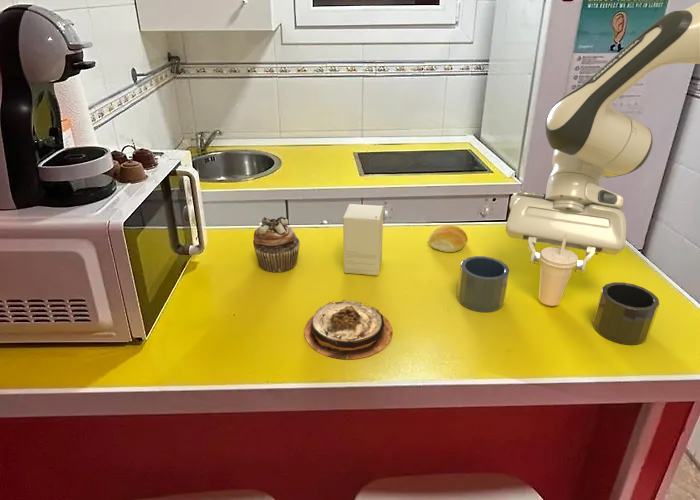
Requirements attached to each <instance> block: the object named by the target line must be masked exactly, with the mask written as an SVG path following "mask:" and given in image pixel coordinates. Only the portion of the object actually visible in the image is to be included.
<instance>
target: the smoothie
mask: <svg viewBox="0 0 700 500" xmlns="http://www.w3.org/2000/svg"><path fill="white" fill-rule="evenodd" d="M567 235H568V234H564V237H563V242H562V246H549V247H544V248H543V249H542V250H540V259H539V260H540V270H539V271H540V273H539V274H540V275H539V288H538V289H539V293H538V300H539V302H540V303H541V304H544V305H546V306H550V307H554V306H555V307H556V306H558V305H560V303H561V300H562V298H563V295H564V292H565V290H566V288H567V286H568V284H569V283H568V282H569V281H570V278H571V275H572V273H573V271H574V269H575V267H576V265H577V261H578V260H579V257H578V254H577V253H576V252H574V251H572V250H570V249H568V248H566V247H565V244H566V240H567Z"/></svg>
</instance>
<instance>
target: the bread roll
mask: <svg viewBox="0 0 700 500" xmlns="http://www.w3.org/2000/svg"><path fill="white" fill-rule="evenodd" d="M468 241H469V238H468V235H467V233H466V232H465V230H463V229H462V228H460V227H459V226H456V225H452V224H448V225H443V226H440V227H437V228H435V229H434V230H433V231H432V232H431V234H430V235H429V236H428V245H429V246H430V247H431V248H433V249H435V250H437V251H441V252H444V253H454V252H455V253H456V252H459V251H461V250H462V249H463V248H464V247H465V246H466V244H467V243H468Z"/></svg>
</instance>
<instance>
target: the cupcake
mask: <svg viewBox="0 0 700 500" xmlns="http://www.w3.org/2000/svg"><path fill="white" fill-rule="evenodd" d="M252 243H253V249H254V252H255V255H256V258H257V262H258V266H259V268H260V269H261V270H263V271H264V272H265V271H266V272H268V273H275V274H276V273H284V272H289V271H290V270H293V269H294V268H295V267H296V266H297V264H298V257H299V251H300V245H301V241H300V238H298V236H297V235H296V232H295V230H294V229H293V228H292V227H291V226H289V219H287V217H283V216H280V217H278V218H277V219H276V218H271V219H270V218H268V217H267V218H266V217H263V218H262V219H261V225H260V226H258V227H257V228H256V229H255V230H254V232H253V241H252Z"/></svg>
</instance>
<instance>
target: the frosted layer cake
mask: <svg viewBox="0 0 700 500" xmlns="http://www.w3.org/2000/svg"><path fill="white" fill-rule="evenodd" d="M303 332H304V337H305V340H306V342H307V344H308V345H309V346H310V347H311V348H312V349H313V350H315V352H317V353H318V354H321V355H323V356H326V357H330V358H333V359H338V360H358V359H363V358H367V357H368V358H369V357H371V356H373V355H376V354H378V353H379V352H381V351H382V350H384V349H385V348H386V347H387V346H388V345H389V344H390V342H391V340H392V338H393V326H392V324H391V323H390V321H389V319H388V318H387V317H386V316H385V315H383V314H382V313H381V312H380V310H379V309H378V308H376V307H375V306H370V305H367V304H363V303H362V302H361V301H356V300H348V299H346V300H345V299H342V300H341V301H338V302H337V301H335V302H333V301H332V302H331V301H330V302H329V301H328V303H325V304H324V305H323V306H320V307H319V308H318V309H317V310H316V311H315V314H313V315H312V316H310V318H309V319H308V321H307V322H306V324H305V327H304V331H303Z"/></svg>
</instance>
